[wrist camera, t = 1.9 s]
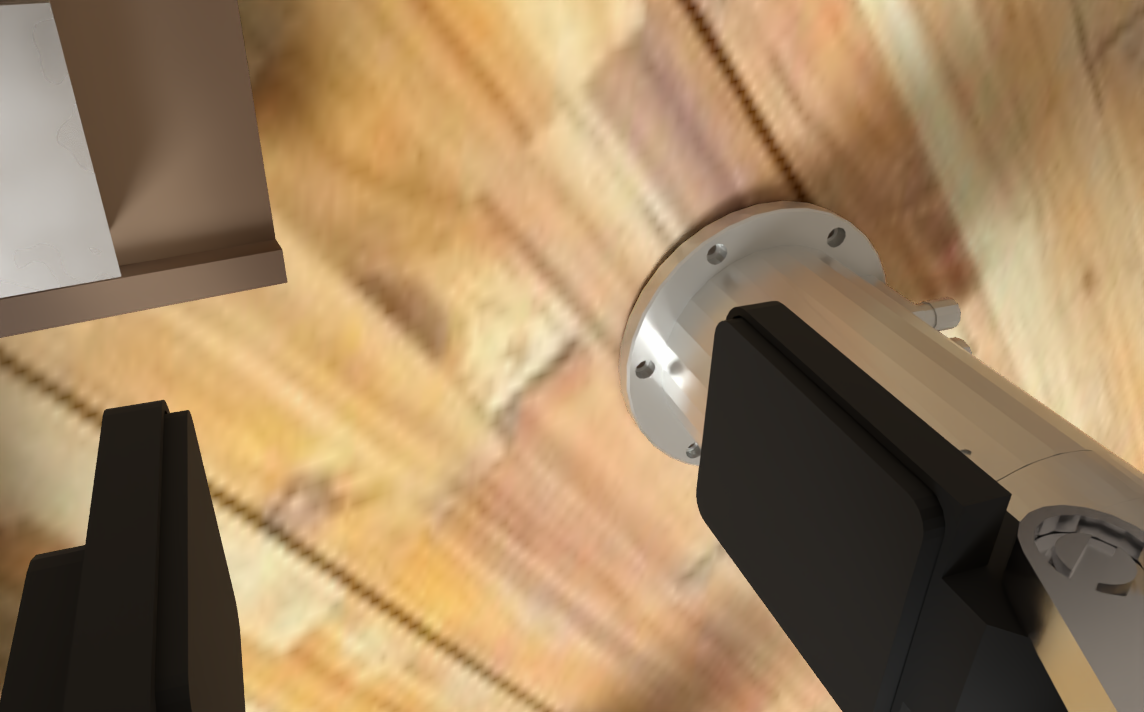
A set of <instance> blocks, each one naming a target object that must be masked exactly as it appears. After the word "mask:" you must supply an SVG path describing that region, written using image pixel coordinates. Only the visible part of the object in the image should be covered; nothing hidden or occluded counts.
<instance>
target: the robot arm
mask: <svg viewBox="0 0 1144 712" xmlns="http://www.w3.org/2000/svg"><path fill="white" fill-rule="evenodd" d="M960 315H961V312H960V309H959V306H958V304H957V303H956V302H955V300H954V299H951V298H948V297H946V298H940V299H935V300H929V301H924V302H922V303H920V304H914V303H912V302H911V301H909V300H908V299H906V298H905V297H903V296H902V295H901V294H899V293H898V292H896V291H895V290H893V289H892V288H890V287H889V286H887V285H886V278H885V272H884V269H883V266H882V264H881V261H880V258H879V255H878V253H877V251H876V250H875V248H874V247H873V245H872V244H871V242H870V241H869V239H868V238H867V236H866V235H864V234H863V233H862V232H861V231H860V230H859V229H858V228H856V227H855V226H854V225H853V224H852V223H851V222H849V221H847V220H846V219H844V218H842V217H841V216H839V215H837V214H836V213H834V212H832V211H831V210H828V209H825V208H822V207H819V206H816V205H814V204H811V203H805V202H794V201H778V202H770V203H762V204H757V205H753V206H750V207H747V208H744V209H741V210H738V211H735V212H732V213H730V214H728V215H726V216H724V217H722V218H720V219H718V220H716V221H715V222H713V223H711V224H709V225H707V226H705V227H704V228H702V229H701V230H700V231H698V232H697V233H696V234H694V235H693V236H692V237H690V238H689V239H688V240H686V241H685V242H684V243H682V244H681V245H680V246H679V247H678V248H677V249H676V250H675V251H674V252H673V253H672V254H671V255H670V256H669V257H668V258H667V259H666V260H665V261H664V262H663V263H662V264H661V265H660V266H659V268H658V269H657V271H656V272H655V273H654V275H653V276H652V278H651V279H650V280H649V282H648V283H647V285H646V286H645V287H644V289H643V290H642V292H641V294H640V296H639V298H638V300H637V302H636V304H635V306H634V308H633V310H632V312H631V314H630V316H629V319H628V322H627V325H626V329H625V332H624V335H623V339H622V342H621V350H620V359H619V377H620V387H621V393H622V396H623V398H624V401H625V404H626V407H627V410H628V412H629V414H630V415H631V417H632V418H633V420H634V421H635V423H636V424H637V426H638V427H639V429H640V430H641V432H642V433H643V434H644V435H645V436H646V437H647V439H648V440H649V441H650V442H651V443H652V444H653V446H655V447H656V448H657V449H659V450H660V451H662V452H663V453H665V454H666V455H668V456H669V457H671V458H673V459H676V460H678V461H681V462H683V463H686V464H689V465H696V466H699V472H698V481H697V490H696V497H697V504H698V508H699V511H700V514H701V516H702V518H703V520H704V521H705V523H706V524H707V526H708V527H709V528H710V530H711V531H712V533H713V534H714V535H715V537H716V538H717V539H718V541H719V542H720V544H721V545H722V546H723V548H724V549H725V550H726V552H727V553H728V555H729V556H730V557H731V559H732V560H733V561H734V563H735V564H736V566H737V567H738V568H739V570H740V571H741V572H742V574H743V575H744V577H745V578H746V579H747V581H748V582H749V583H750V585H751V586H752V588H753V589H754V590H755V592H756V593H757V594H758V596H759V597H760V599H761V600H762V601H763V603H764V604H765V605H766V607H767V608H768V610H769V611H770V612H771V614H772V615H773V616H774V618H775V619H776V621H777V622H778V623H779V625H780V626H781V627H782V629H783V630H784V632H785V633H786V634H787V636H788V637H789V638H790V640H791V641H792V643H793V644H794V645H795V647H796V648H797V649H798V651H799V652H800V654H801V655H802V656H803V658H804V659H805V660H806V662H807V663H808V665H809V666H810V667H811V669H812V670H813V671H814V673H815V674H816V676H817V677H818V678H819V680H820V681H821V683H822V684H823V685H824V687H825V688H826V689H827V691H828V692H829V694H830V695H831V696H832V698H833V699H834V700H835V702H836V703H837V705H838V706H839V707H840V709H841V710H842V711H843V712H1144V474H1143V473H1142V472H1141V471H1139V470H1138V469H1136V468H1135V467H1133V466H1132V465H1130V464H1129V463H1128V462H1126V461H1125V460H1123V459H1121V458H1120V457H1119V456H1117V455H1116V454H1114V453H1113V452H1111V451H1110V450H1108V449H1107V448H1106V447H1104V446H1103V445H1101V444H1100V443H1098V442H1097V441H1096V440H1094V439H1093V438H1091V437H1090V436H1088V435H1087V434H1086V433H1084V432H1083V431H1081V430H1080V429H1078V428H1077V427H1075V426H1074V425H1073V424H1071V423H1070V422H1068V421H1067V420H1065V419H1064V418H1063V417H1061V416H1060V415H1058V414H1057V413H1055V412H1054V411H1052V410H1051V409H1050V408H1048V407H1047V406H1045V405H1044V404H1042V403H1041V402H1040V401H1038V400H1037V399H1035V398H1034V397H1032V396H1031V395H1029V394H1028V393H1027V392H1025V391H1024V390H1022V389H1021V388H1019V387H1018V386H1017V385H1015V384H1014V383H1012V382H1011V381H1009V380H1008V379H1006V378H1005V377H1004V376H1002V375H1001V374H999V373H998V372H996V371H995V370H994V369H992V368H991V367H989V366H988V365H986V364H985V363H983V362H982V361H981V360H979V359H978V358H976V357H975V356H973V355H972V352H971V350H970V347H969V346H968V345H967V344H966V342H965V341H964V340H962V339H959V338H956V337H954V338H948V337H946V336H945V335H943V334H942V333H940V332H939V331H942V330H947V329H952V328H954V327H956V326H957V325H958V323H959V322H960ZM0 712H245V699H244V683H243V668H242V653H241V638H240V626H239V618H238V612H237V606H236V601H235V596H234V592H233V588H232V584H231V579H230V575H229V571H228V567H227V563H226V558H225V554H224V550H223V546H222V542H221V537H220V533H219V529H218V525H217V521H216V516H215V512H214V508H213V504H212V500H211V495H210V491H209V487H208V483H207V479H206V474H205V470H204V466H203V462H202V458H201V453H200V449H199V445H198V441H197V437H196V432H195V428H194V424H193V420H192V416H191V414H190V411H189V410H186V411H180V412H174V413H170V412H169V409H168V406H167V404H166V402H165V400H160V401H154V402H148V403H142V404H136V405H129V406H123V407H117V408H111V409H106V410H104V414H103V419H102V426H101V434H100V441H99V448H98V456H97V463H96V470H95V478H94V485H93V492H92V500H91V507H90V515H89V522H88V529H87V537H86V544H85V545H83V546H78V547H73V548H69V549H64V550H59V551H54V552H49V553H44V554H39V555H36V556H35V557H34V558H33V559H32V560H31V562H30V565H29V568H28V571H27V574H26V579H25V584H24V589H23V594H22V599H21V603H20V608H19V613H18V618H17V623H16V627H15V632H14V637H13V642H12V647H11V652H10V656H9V661H8V666H7V671H6V676H5V680H4V685H3V690H2V695H1V700H0Z"/></svg>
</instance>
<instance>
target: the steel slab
mask: <svg viewBox="0 0 1144 712" xmlns="http://www.w3.org/2000/svg"><path fill="white" fill-rule="evenodd" d="M116 277H121V273H120V269H119V265H118V261H117V258H116V254H115V250H114V246H113V242H112V238H111V234H110V231H109V227H108V223H107V219H106V215H105V211H104V208H103V204H102V200H101V196H100V192H99V188H98V184H97V181H96V177H95V173H94V169H93V165H92V161H91V158H90V154H89V150H88V146H87V142H86V138H85V135H84V131H83V127H82V123H81V119H80V115H79V112H78V108H77V104H76V100H75V96H74V92H73V89H72V85H71V81H70V77H69V73H68V69H67V66H66V62H65V58H64V54H63V50H62V46H61V43H60V39H59V35H58V31H57V27H56V23H55V19H54V16H53V12H52V8H51V4H50V0H0V298H3V297H9V296H14V295H20V294H26V293H31V292H37V291H43V290H48V289H54V288H60V287H65V286H71V285H77V284H82V283H88V282H94V281H99V280H105V279H111V278H116Z"/></svg>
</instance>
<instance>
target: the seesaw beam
mask: <svg viewBox="0 0 1144 712" xmlns="http://www.w3.org/2000/svg"><path fill="white" fill-rule="evenodd" d="M50 4H51V8H52V12H53V16H54V19H55V23H56V27H57V31H58V35H59V39H60V43H61V46H62V50H63V54H64V58H65V62H66V66H67V69H68V73H69V77H70V81H71V85H72V89H73V92H74V96H75V100H76V104H77V108H78V112H79V115H80V119H81V123H82V127H83V131H84V135H85V138H86V142H87V146H88V150H89V154H90V158H91V161H92V165H93V169H94V173H95V177H96V181H97V184H98V188H99V192H100V196H101V200H102V204H103V208H104V211H105V215H106V219H107V223H108V227H109V231H110V234H111V238H112V242H113V246H114V250H115V254H116V258H117V261H118V265H119V269H120V273H121V277H116V278H111V279H105V280H99V281H94V282H88V283H82V284H77V285H71V286H65V287H60V288H54V289H48V290H43V291H37V292H31V293H26V294H20V295H14V296H9V297H3V298H0V338H2V337H7V336H12V335H17V334H23V333H28V332H33V331H38V330H43V329H48V328H54V327H59V326H64V325H69V324H74V323H80V322H85V321H90V320H95V319H100V318H105V317H111V316H116V315H121V314H126V313H131V312H137V311H142V310H147V309H152V308H157V307H163V306H168V305H173V304H178V303H183V302H188V301H194V300H199V299H204V298H209V297H214V296H220V295H225V294H230V293H235V292H240V291H246V290H251V289H256V288H261V287H266V286H271V285H277V284H282V283H287V277H286V271H285V264H284V258H283V251H282V249H281V247H280V245H279V244H278V242H277V241H276V239H275V233H274V226H273V220H272V214H271V208H270V201H269V195H268V189H267V183H266V177H265V170H264V164H263V158H262V152H261V145H260V139H259V133H258V127H257V120H256V114H255V108H254V102H253V95H252V89H251V83H250V77H249V70H248V64H247V58H246V52H245V45H244V39H243V33H242V27H241V20H240V14H239V8H238V2H237V0H50Z"/></svg>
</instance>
